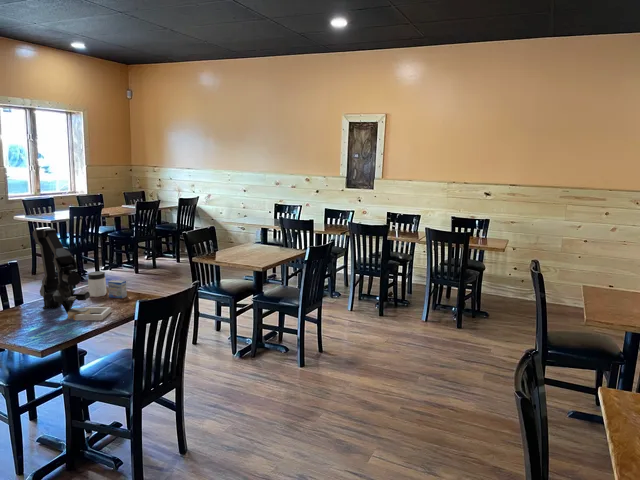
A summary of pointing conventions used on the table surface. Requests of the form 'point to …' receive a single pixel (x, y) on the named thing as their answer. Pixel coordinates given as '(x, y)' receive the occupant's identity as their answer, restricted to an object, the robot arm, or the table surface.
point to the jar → (97, 283)
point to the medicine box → (117, 289)
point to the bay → (102, 310)
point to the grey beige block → (77, 312)
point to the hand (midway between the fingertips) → (68, 313)
